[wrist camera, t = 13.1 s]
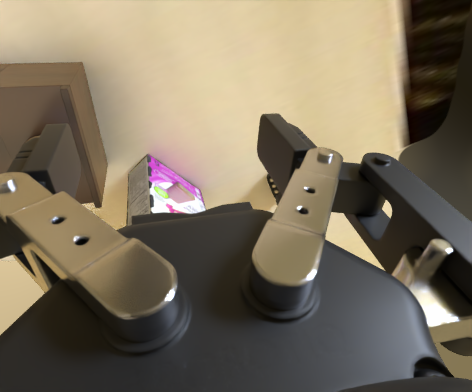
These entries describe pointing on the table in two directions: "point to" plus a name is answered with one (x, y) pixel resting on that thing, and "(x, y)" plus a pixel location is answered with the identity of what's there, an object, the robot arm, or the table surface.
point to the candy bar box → (160, 191)
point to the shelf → (52, 117)
